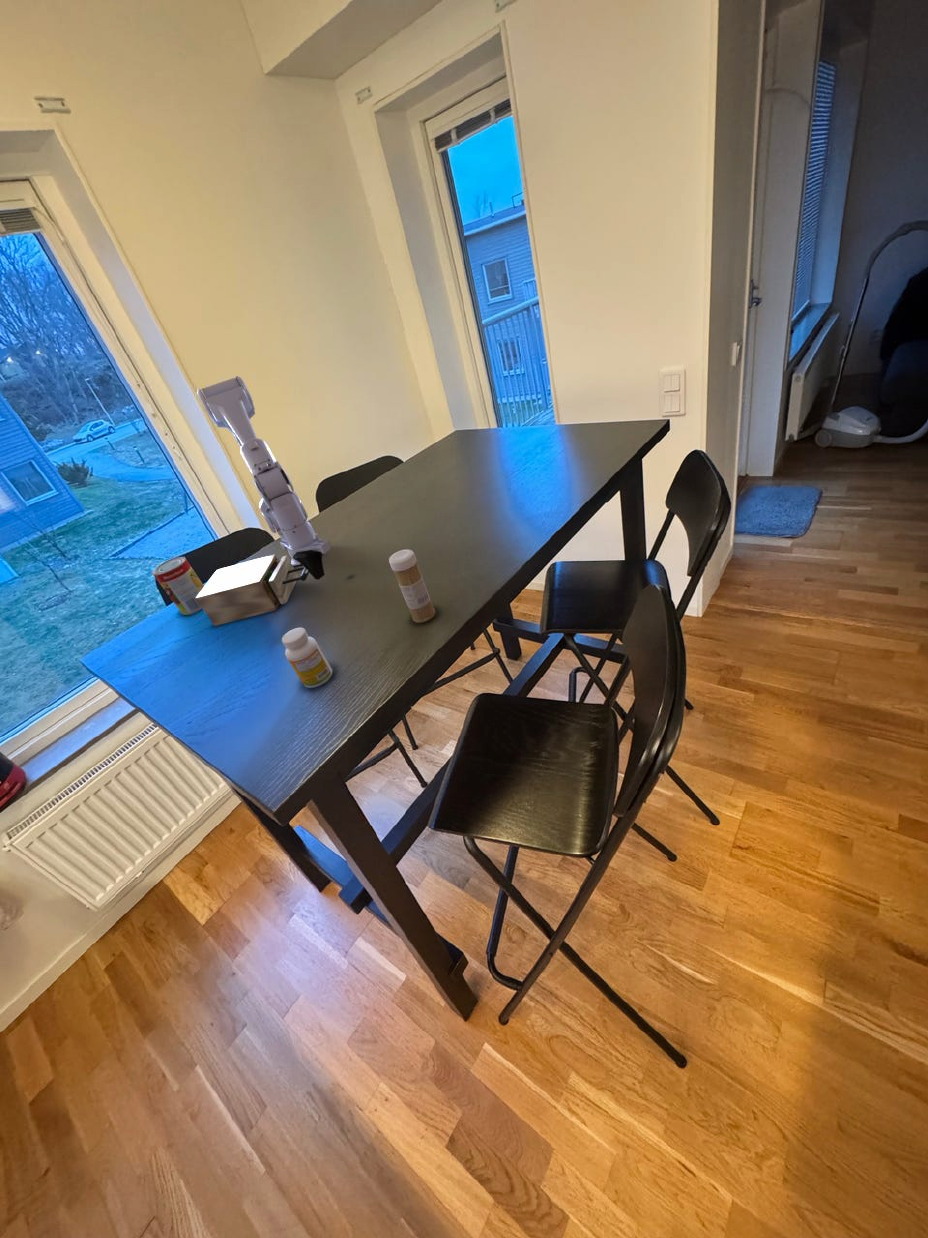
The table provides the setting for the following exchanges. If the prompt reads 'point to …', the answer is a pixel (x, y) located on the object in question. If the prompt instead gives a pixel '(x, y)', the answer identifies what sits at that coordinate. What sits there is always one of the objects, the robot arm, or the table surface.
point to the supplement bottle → (306, 658)
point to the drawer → (283, 579)
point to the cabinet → (237, 592)
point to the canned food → (180, 584)
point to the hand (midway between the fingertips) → (320, 576)
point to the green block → (268, 578)
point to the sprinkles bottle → (412, 585)
